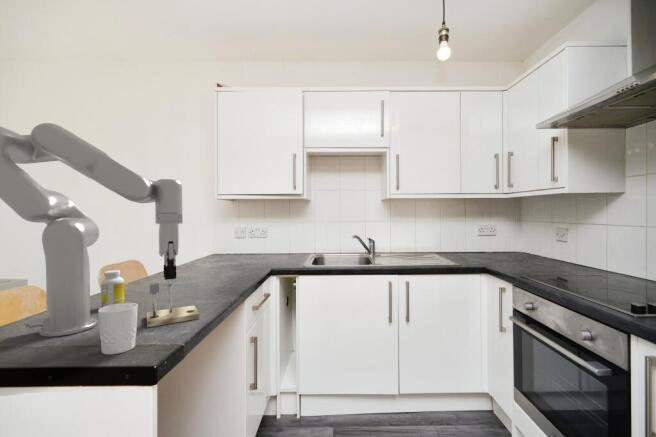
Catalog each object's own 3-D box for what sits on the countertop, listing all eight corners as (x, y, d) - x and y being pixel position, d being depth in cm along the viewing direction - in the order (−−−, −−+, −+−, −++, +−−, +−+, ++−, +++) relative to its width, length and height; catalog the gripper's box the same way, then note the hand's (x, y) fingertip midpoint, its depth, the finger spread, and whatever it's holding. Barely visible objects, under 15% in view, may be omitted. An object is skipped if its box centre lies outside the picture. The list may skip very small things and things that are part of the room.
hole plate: (147, 327, 89) (147, 321, 89) (146, 316, 99) (146, 311, 99) (199, 318, 96) (199, 313, 96) (194, 309, 106) (194, 304, 106)
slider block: (165, 314, 95) (164, 266, 95) (164, 311, 98) (164, 265, 98) (176, 312, 96) (175, 265, 96) (175, 309, 100) (174, 264, 100)
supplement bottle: (126, 304, 114) (126, 269, 114) (121, 309, 107) (120, 272, 107) (105, 306, 112) (104, 270, 112) (98, 311, 105) (97, 273, 105)
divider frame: (150, 316, 92) (149, 285, 92) (149, 314, 95) (149, 283, 95) (197, 309, 99) (197, 280, 99) (196, 307, 102) (195, 279, 102)
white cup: (124, 340, 80) (123, 301, 80) (145, 344, 77) (145, 304, 77) (90, 352, 72) (90, 310, 72) (113, 358, 69) (112, 313, 69)
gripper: (154, 219, 102) (155, 275, 102) (156, 219, 88) (157, 284, 88) (179, 219, 106) (180, 272, 106) (185, 219, 92) (186, 281, 92)
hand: (170, 277), depth 97 cm, fingers closed on slider block, 3 cm apart
